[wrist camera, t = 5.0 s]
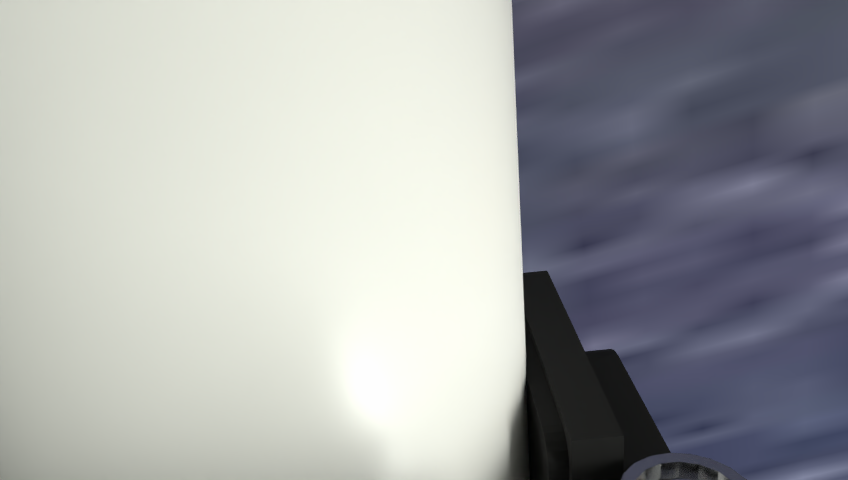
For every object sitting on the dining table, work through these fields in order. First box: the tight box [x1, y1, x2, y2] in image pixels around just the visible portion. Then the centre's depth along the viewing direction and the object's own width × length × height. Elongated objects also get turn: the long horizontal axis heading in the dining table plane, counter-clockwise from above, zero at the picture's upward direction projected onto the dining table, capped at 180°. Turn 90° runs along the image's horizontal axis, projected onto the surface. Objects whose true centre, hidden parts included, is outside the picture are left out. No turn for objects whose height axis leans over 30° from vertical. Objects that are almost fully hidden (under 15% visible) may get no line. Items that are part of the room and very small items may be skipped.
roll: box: [0, 0, 530, 480], centre depth 9 cm, size 12×6×6 cm, turn 5°
